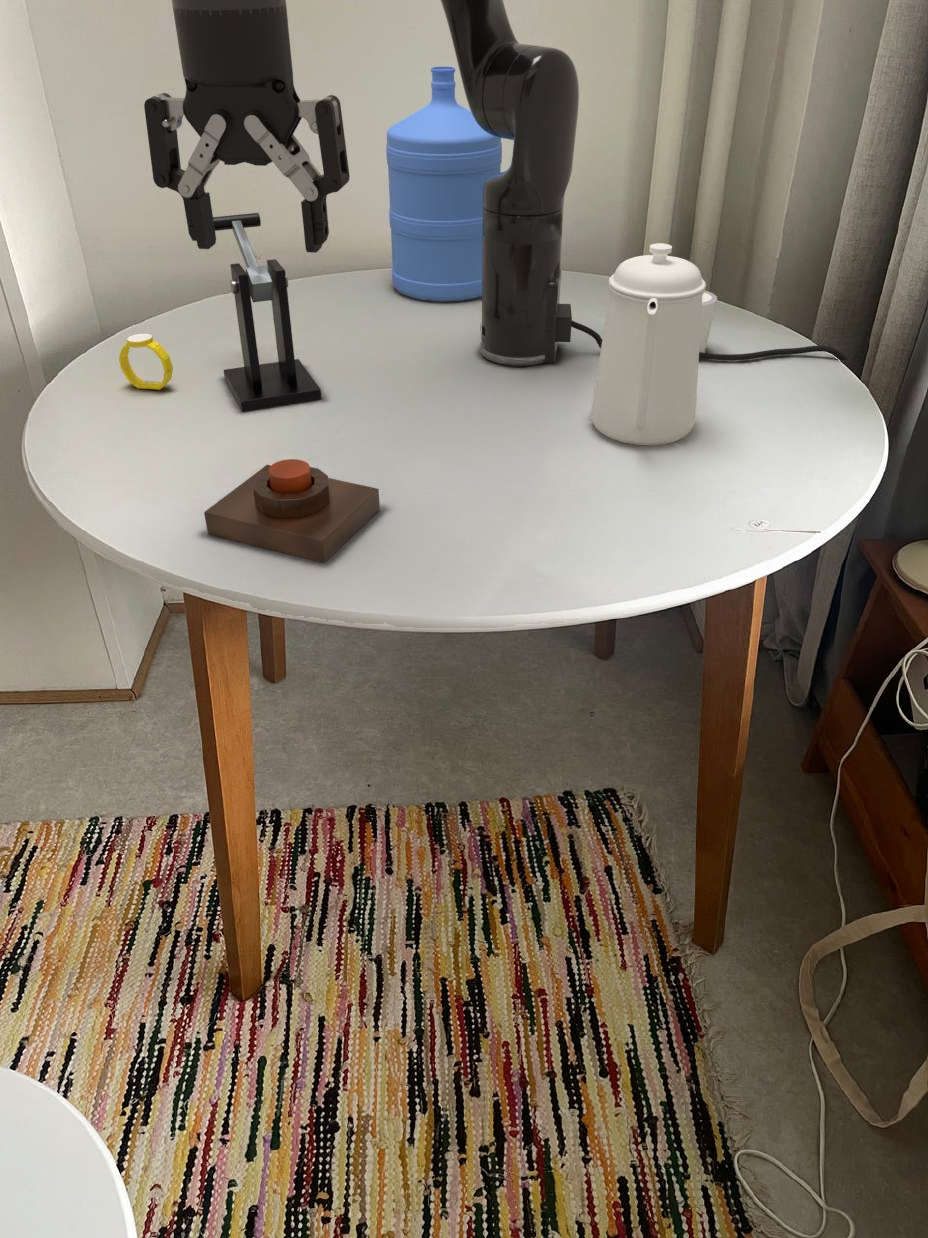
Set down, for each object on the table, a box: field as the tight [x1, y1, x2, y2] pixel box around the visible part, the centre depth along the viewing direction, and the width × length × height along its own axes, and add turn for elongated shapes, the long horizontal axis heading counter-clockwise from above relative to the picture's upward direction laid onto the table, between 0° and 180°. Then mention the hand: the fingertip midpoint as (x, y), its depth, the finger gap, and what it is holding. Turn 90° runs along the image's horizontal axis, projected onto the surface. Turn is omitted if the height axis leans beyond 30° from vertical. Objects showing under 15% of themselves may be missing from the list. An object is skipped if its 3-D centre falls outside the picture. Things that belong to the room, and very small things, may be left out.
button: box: [269, 458, 312, 494], centre depth 88 cm, size 4×4×2 cm
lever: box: [213, 212, 273, 303], centre depth 110 cm, size 13×6×2 cm, turn 22°
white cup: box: [699, 290, 718, 353], centre depth 122 cm, size 7×7×7 cm
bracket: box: [223, 258, 322, 412], centre depth 111 cm, size 10×9×14 cm
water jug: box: [385, 66, 503, 302], centre depth 137 cm, size 16×16×28 cm
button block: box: [203, 464, 381, 564], centre depth 89 cm, size 12×10×4 cm
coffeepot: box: [590, 242, 707, 446], centre depth 100 cm, size 11×25×19 cm, turn 168°
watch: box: [118, 333, 174, 391], centre depth 113 cm, size 6×3×6 cm, turn 74°
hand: (260, 248), depth 76 cm, fingers open, 8 cm apart
